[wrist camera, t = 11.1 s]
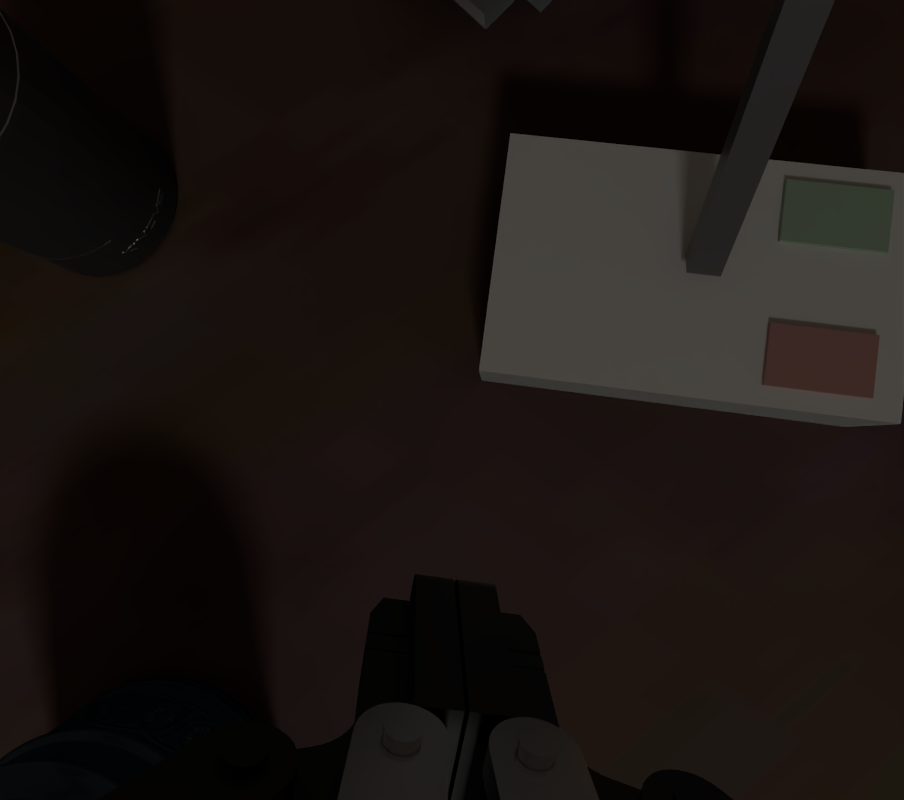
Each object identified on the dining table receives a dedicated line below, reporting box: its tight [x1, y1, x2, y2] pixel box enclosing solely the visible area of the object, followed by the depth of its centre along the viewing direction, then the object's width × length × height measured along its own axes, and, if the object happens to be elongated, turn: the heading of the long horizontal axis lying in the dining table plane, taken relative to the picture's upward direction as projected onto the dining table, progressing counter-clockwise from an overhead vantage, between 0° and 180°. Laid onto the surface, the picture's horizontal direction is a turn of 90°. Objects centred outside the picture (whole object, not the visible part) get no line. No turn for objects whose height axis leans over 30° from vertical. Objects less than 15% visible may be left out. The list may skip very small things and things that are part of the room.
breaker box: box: [479, 133, 904, 427], centre depth 38 cm, size 20×12×6 cm, turn 82°
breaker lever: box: [685, 0, 835, 277], centre depth 29 cm, size 3×3×15 cm
